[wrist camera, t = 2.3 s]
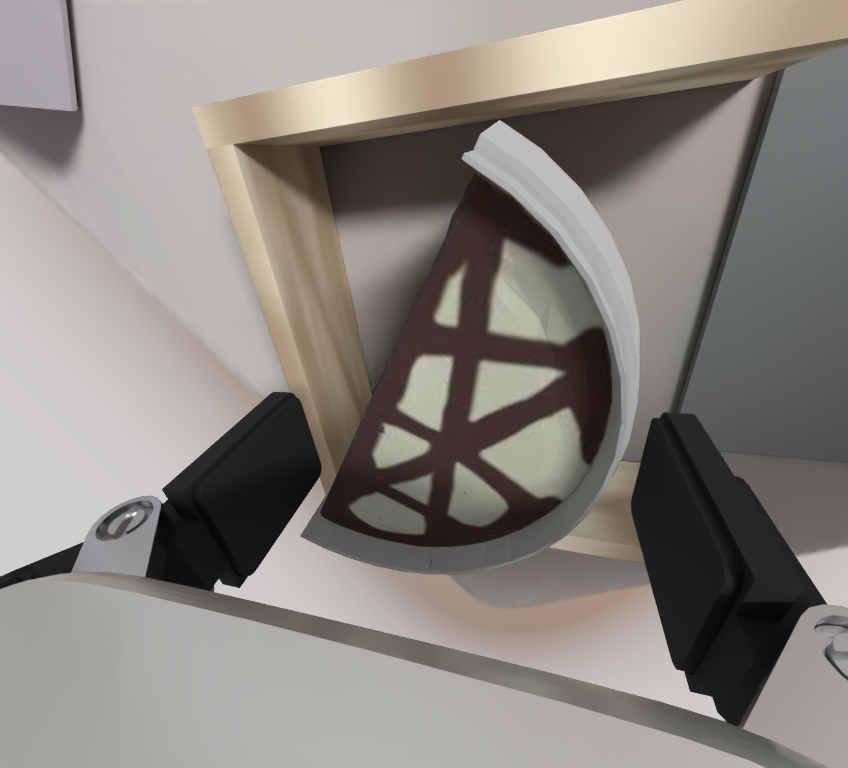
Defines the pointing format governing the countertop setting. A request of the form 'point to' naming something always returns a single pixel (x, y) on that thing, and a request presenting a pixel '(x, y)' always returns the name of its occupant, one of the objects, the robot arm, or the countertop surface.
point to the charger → (36, 55)
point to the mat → (784, 283)
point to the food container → (496, 382)
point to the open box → (443, 107)
